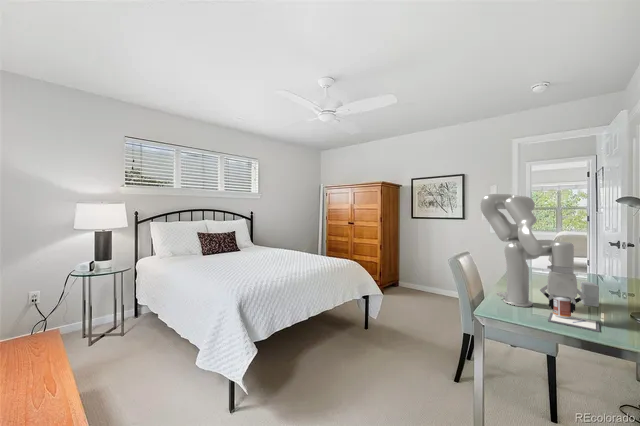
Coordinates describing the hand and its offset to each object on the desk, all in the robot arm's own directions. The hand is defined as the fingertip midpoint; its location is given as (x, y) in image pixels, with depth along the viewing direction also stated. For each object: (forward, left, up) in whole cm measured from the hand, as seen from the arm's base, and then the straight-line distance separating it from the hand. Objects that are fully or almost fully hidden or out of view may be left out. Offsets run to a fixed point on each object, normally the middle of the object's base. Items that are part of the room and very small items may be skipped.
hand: (561, 309), depth 129 cm
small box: (+9, +34, -4) cm, 35 cm away
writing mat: (+4, -3, -4) cm, 6 cm away
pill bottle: (0, 0, -3) cm, 3 cm away
